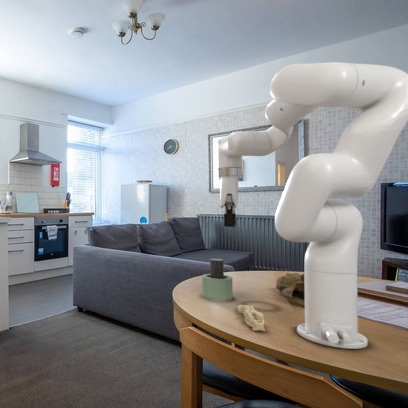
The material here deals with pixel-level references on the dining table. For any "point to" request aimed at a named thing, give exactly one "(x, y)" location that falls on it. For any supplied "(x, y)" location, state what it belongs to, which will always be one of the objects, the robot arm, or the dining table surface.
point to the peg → (217, 268)
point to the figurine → (292, 287)
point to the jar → (217, 287)
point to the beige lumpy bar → (252, 317)
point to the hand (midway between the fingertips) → (230, 225)
